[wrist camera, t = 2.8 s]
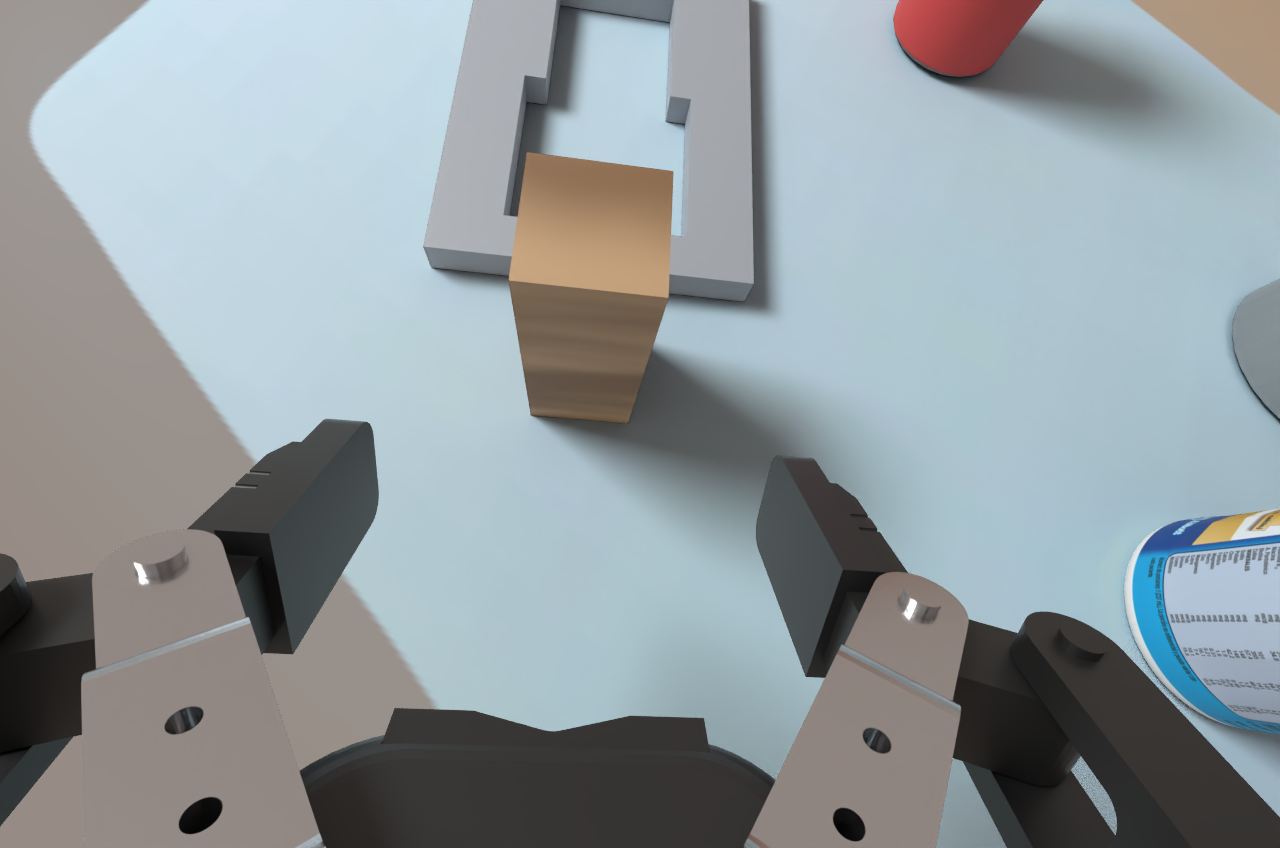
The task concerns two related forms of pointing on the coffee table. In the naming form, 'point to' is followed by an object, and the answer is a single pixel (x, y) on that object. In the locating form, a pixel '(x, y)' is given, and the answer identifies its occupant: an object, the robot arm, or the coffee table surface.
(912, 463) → the coffee table surface
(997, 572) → the coffee table surface
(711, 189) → the keyhole plate
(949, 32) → the beer can
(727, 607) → the coffee table surface
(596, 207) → the tan peg
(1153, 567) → the beverage bottle
